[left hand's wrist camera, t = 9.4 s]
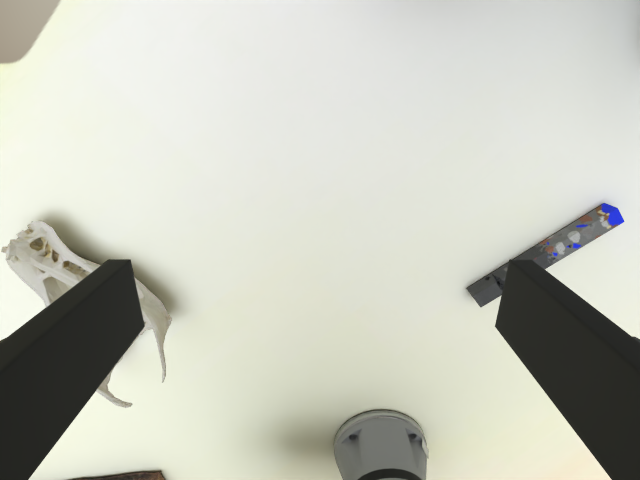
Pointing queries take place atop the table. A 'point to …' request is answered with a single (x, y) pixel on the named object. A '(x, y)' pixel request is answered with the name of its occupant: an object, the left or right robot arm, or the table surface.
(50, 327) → the left robot arm
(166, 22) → the table surface
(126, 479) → the plaque
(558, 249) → the pillar
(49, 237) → the anatomical model
